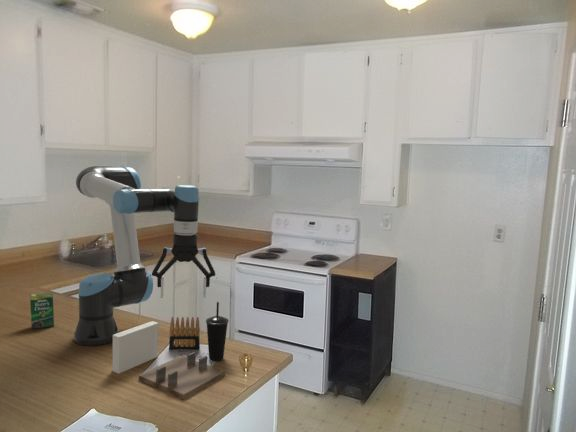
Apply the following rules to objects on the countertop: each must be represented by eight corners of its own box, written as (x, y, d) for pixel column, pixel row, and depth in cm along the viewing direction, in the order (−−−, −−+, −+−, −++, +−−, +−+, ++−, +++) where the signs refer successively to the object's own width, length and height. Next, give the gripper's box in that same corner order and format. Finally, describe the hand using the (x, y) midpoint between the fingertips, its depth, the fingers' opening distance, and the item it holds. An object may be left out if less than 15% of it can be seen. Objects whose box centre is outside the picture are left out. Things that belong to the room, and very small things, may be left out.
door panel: (112, 371, 145) (112, 334, 143) (152, 354, 158) (152, 321, 157) (118, 373, 143) (118, 337, 142) (158, 356, 157) (158, 323, 155)
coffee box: (30, 329, 174) (29, 296, 173) (30, 326, 177) (30, 293, 175) (54, 326, 178) (53, 294, 176) (54, 324, 180) (53, 292, 179)
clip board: (138, 379, 140) (138, 364, 139) (181, 359, 155) (181, 345, 154) (183, 399, 130) (184, 382, 129) (224, 375, 145) (225, 360, 144)
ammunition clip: (199, 347, 165) (200, 315, 164) (199, 350, 163) (200, 317, 162) (169, 347, 164) (170, 315, 162) (168, 350, 162) (169, 317, 161)
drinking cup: (202, 354, 159) (204, 299, 157) (224, 352, 162) (226, 298, 160) (207, 364, 152) (208, 306, 150) (229, 361, 155) (231, 305, 153)
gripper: (144, 234, 141) (142, 300, 144) (225, 236, 147) (222, 299, 150) (146, 230, 149) (144, 293, 151) (223, 232, 154) (220, 292, 157)
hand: (183, 296), depth 151 cm, fingers open, 13 cm apart
